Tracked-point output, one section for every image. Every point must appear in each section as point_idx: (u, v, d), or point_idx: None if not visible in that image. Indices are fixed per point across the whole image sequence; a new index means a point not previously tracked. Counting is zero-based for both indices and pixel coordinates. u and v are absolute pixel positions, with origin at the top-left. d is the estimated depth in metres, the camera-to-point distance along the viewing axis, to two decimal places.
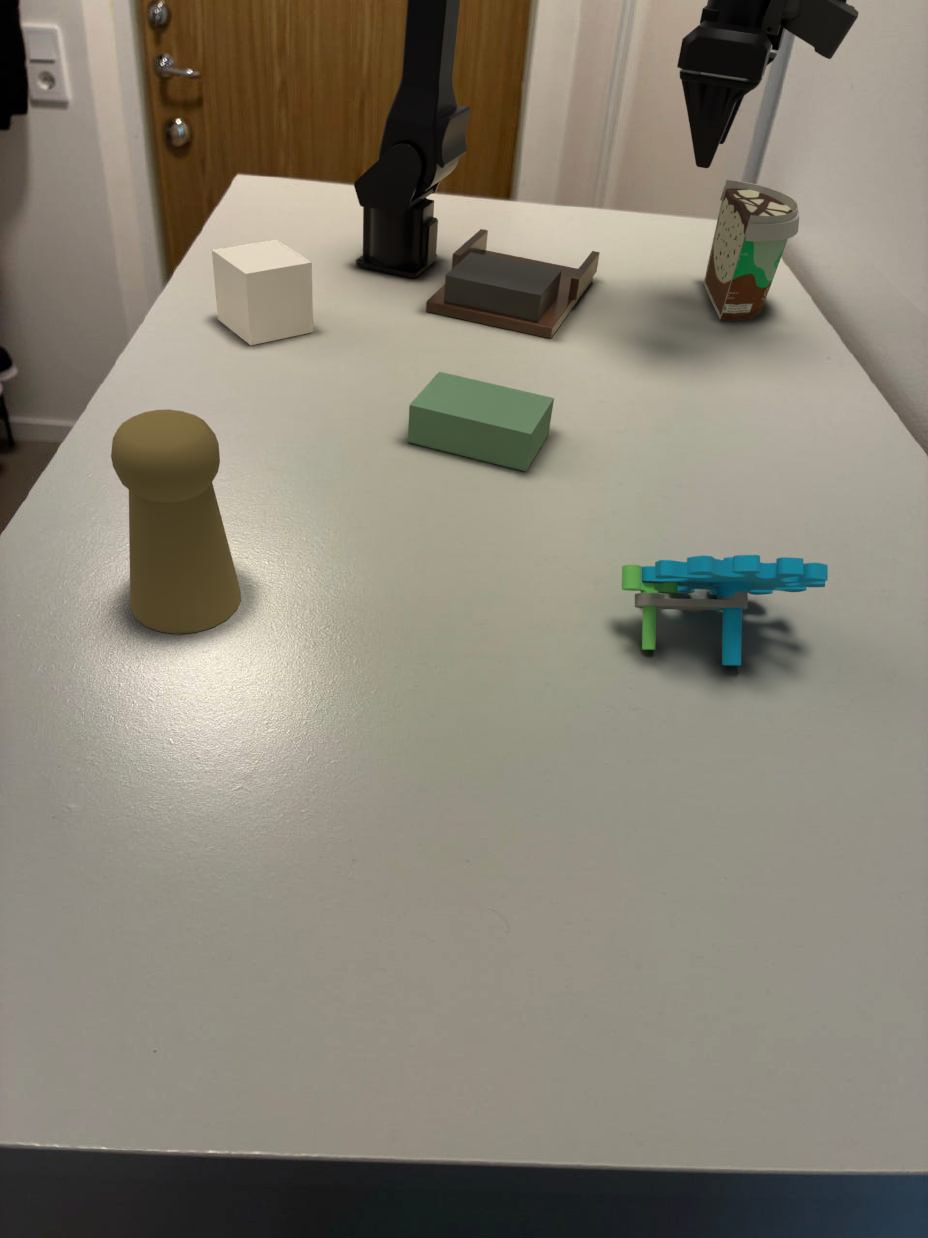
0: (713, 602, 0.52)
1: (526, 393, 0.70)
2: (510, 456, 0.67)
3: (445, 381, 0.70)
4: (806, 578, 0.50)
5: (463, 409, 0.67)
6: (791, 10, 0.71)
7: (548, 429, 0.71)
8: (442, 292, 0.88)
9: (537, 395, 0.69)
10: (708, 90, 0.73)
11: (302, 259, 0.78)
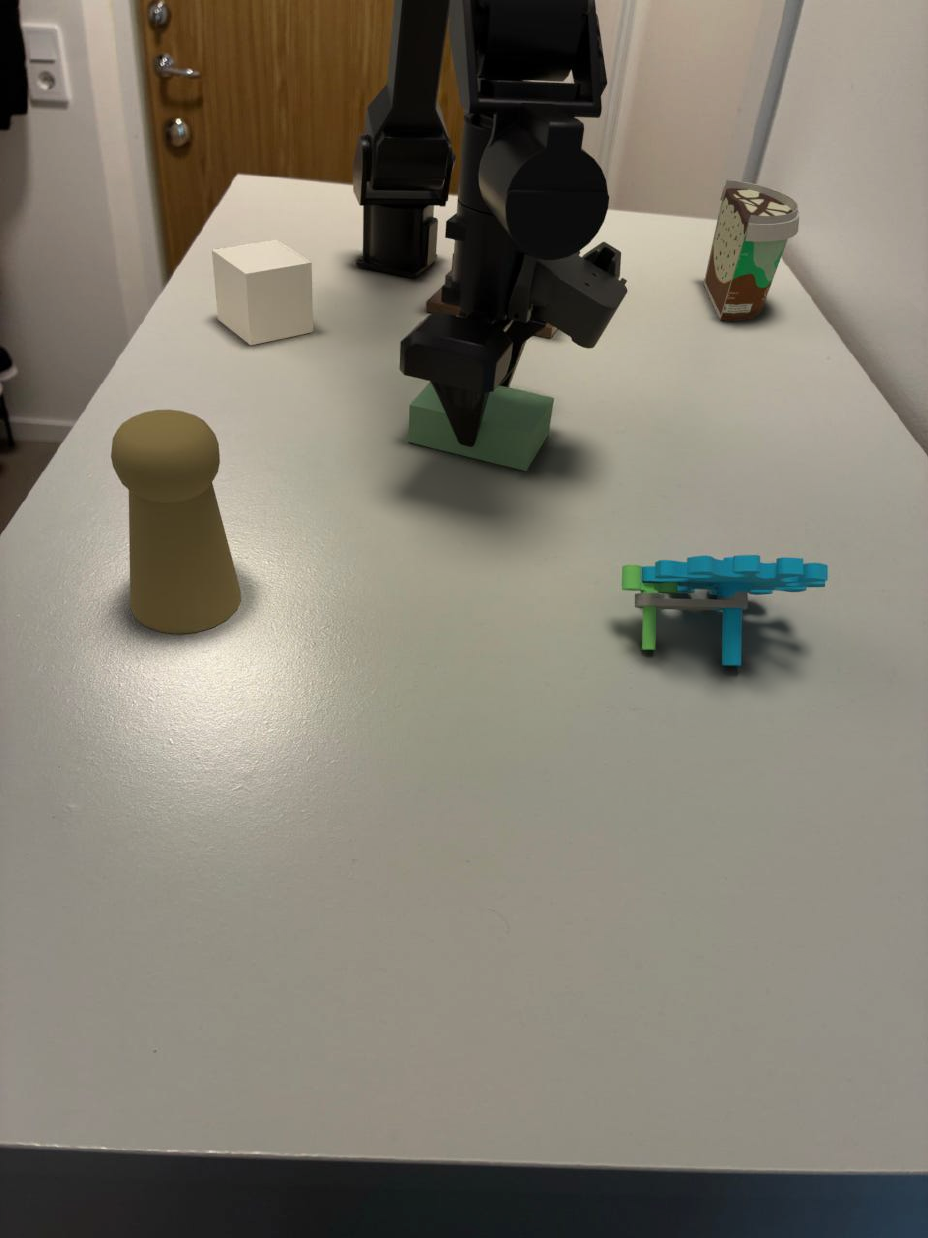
0: (713, 602, 0.52)
1: (526, 393, 0.70)
2: (510, 456, 0.67)
3: None
4: (806, 578, 0.50)
5: None
6: (539, 298, 0.59)
7: (548, 429, 0.71)
8: None
9: (537, 395, 0.69)
10: None
11: (302, 259, 0.78)
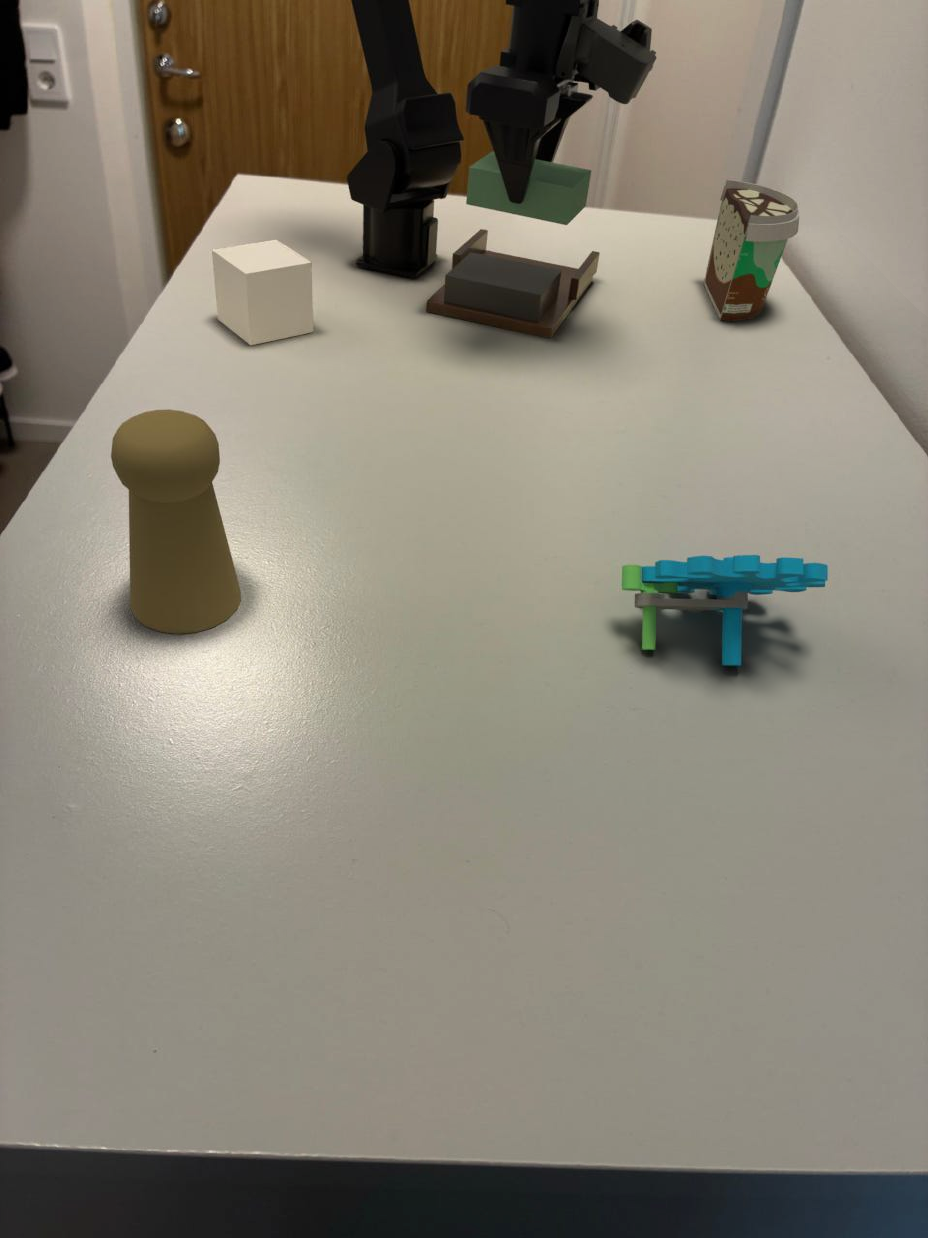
0: (713, 602, 0.52)
1: (567, 166, 0.81)
2: (554, 211, 0.78)
3: None
4: (806, 578, 0.50)
5: None
6: (582, 56, 0.71)
7: (585, 200, 0.82)
8: (442, 292, 0.88)
9: (577, 167, 0.81)
10: (511, 129, 0.75)
11: (302, 259, 0.78)
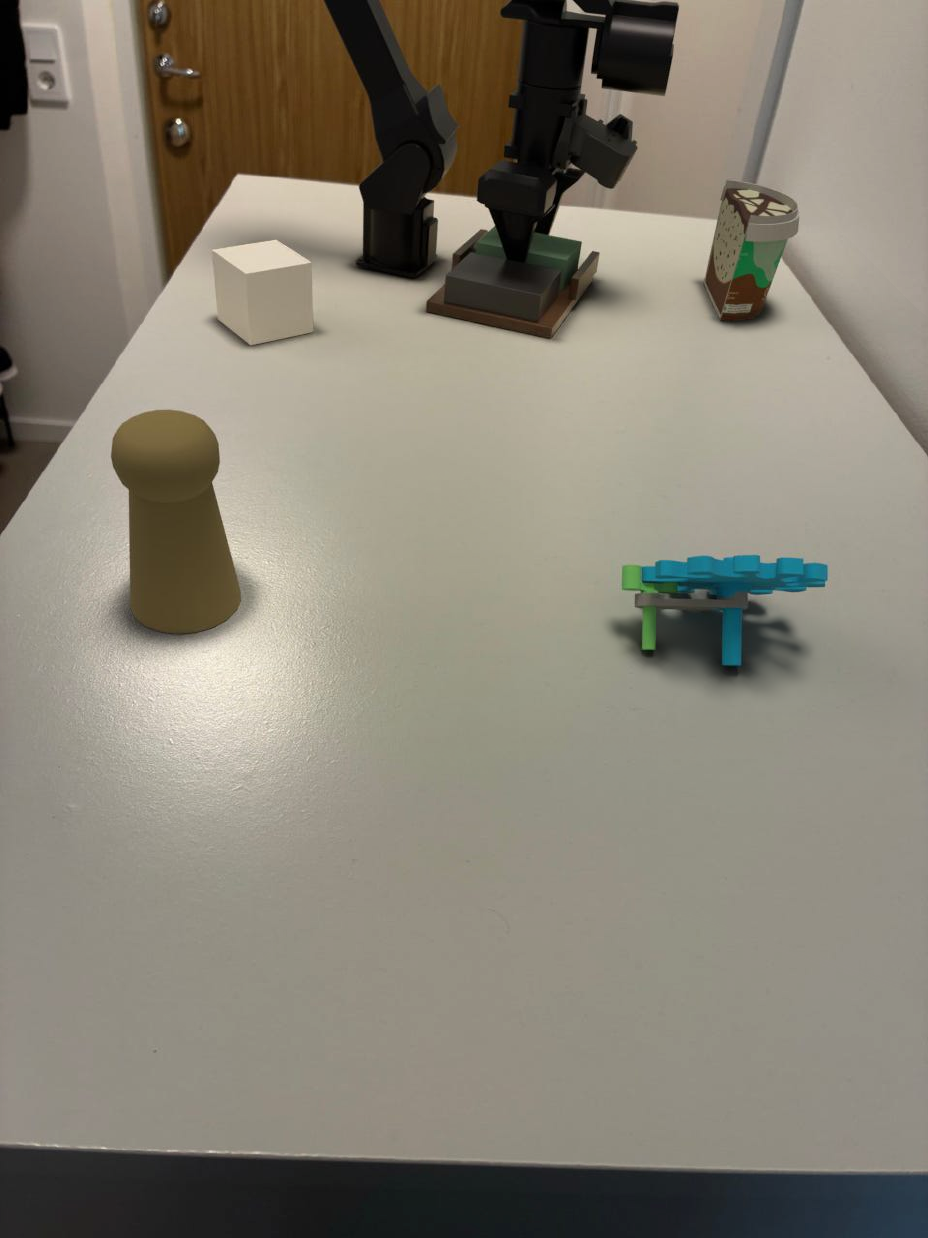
0: (713, 602, 0.52)
1: (561, 238, 0.94)
2: None
3: None
4: (806, 578, 0.50)
5: None
6: (575, 150, 0.84)
7: (577, 266, 0.95)
8: (442, 292, 0.88)
9: (569, 239, 0.94)
10: (512, 213, 0.86)
11: (302, 259, 0.78)
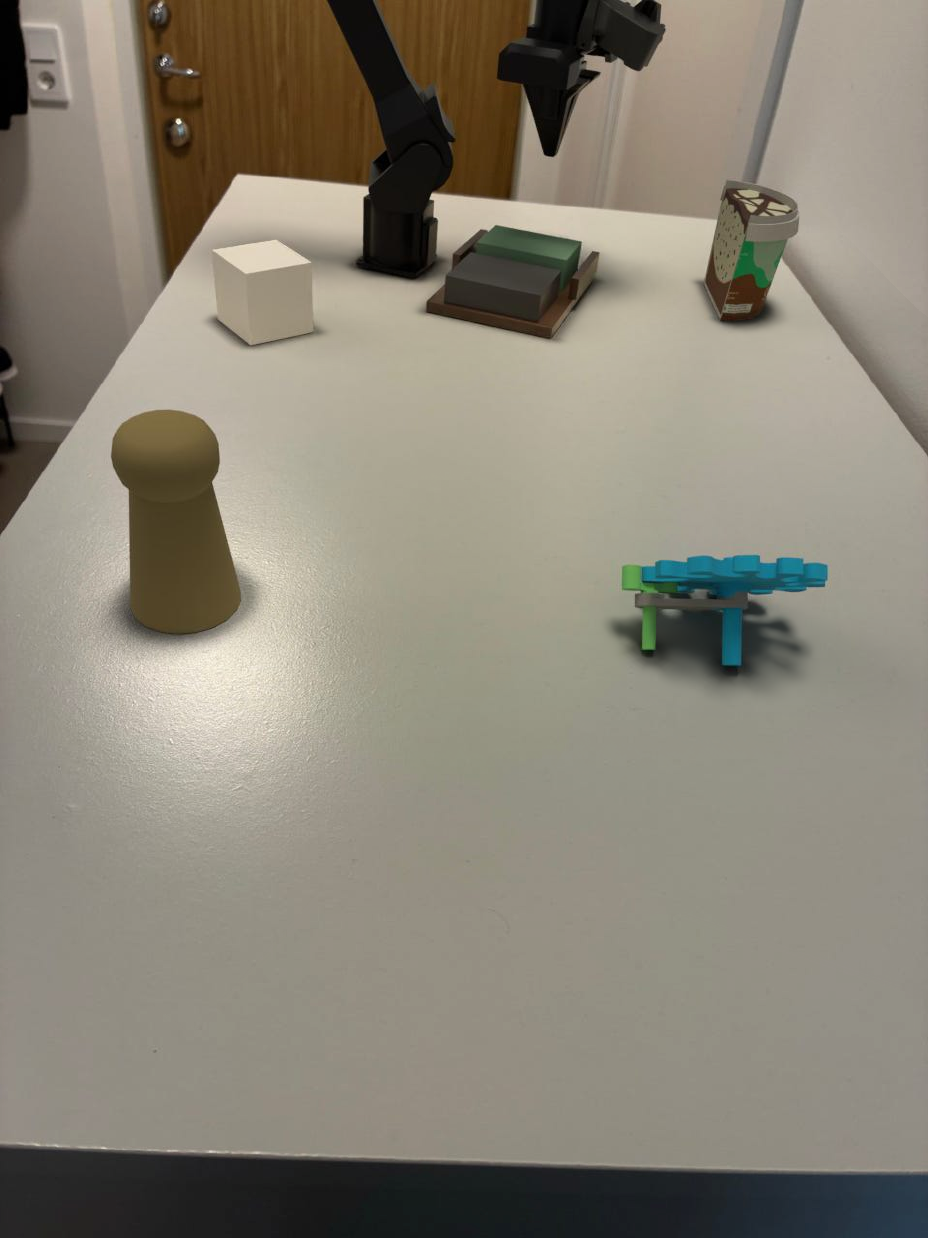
0: (713, 602, 0.52)
1: (561, 238, 0.94)
2: None
3: (501, 230, 0.94)
4: (806, 578, 0.50)
5: (516, 245, 0.91)
6: (600, 28, 0.80)
7: (577, 266, 0.95)
8: (442, 292, 0.88)
9: (569, 239, 0.94)
10: (546, 90, 0.86)
11: (302, 259, 0.78)
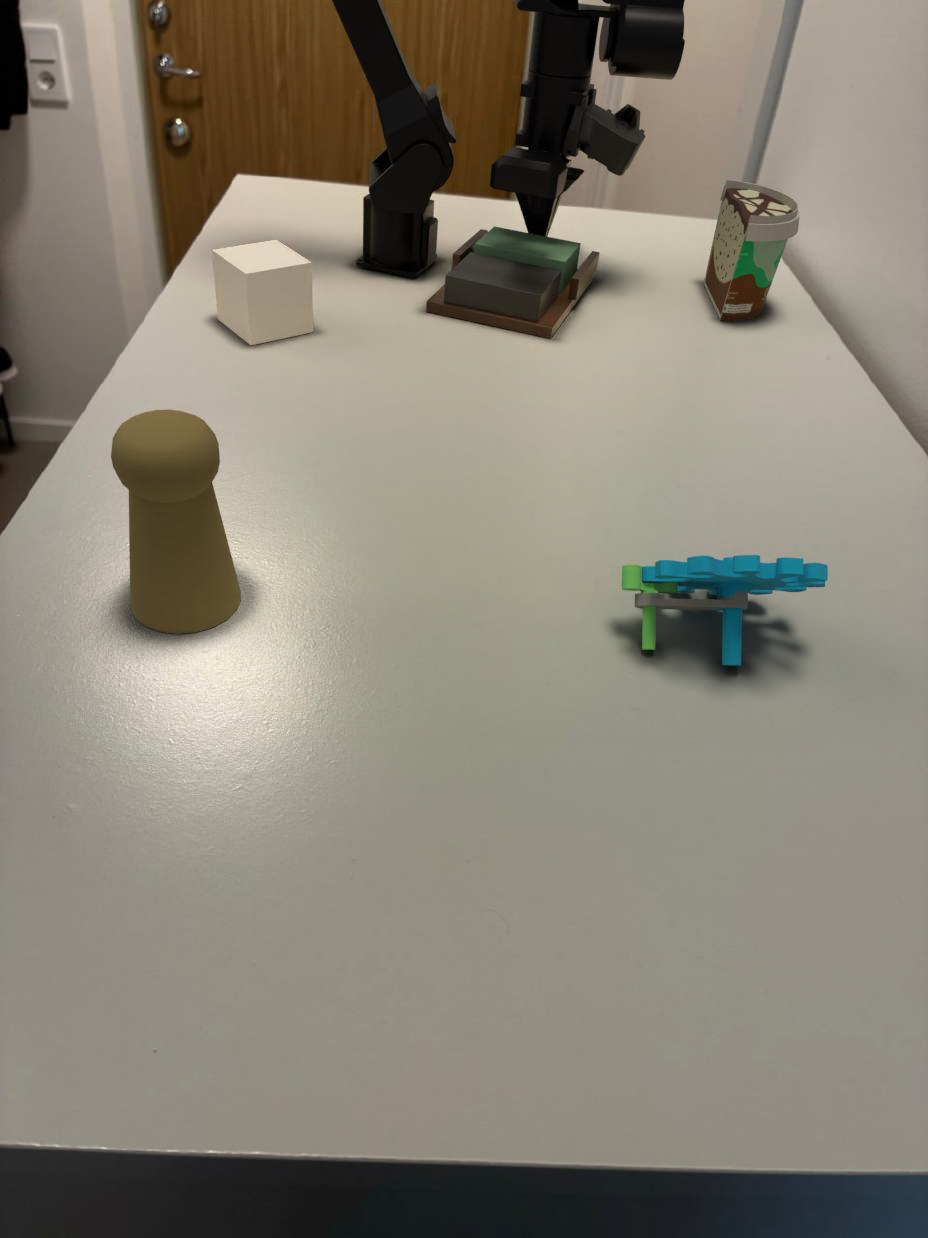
0: (713, 602, 0.52)
1: (560, 240, 0.93)
2: None
3: (499, 231, 0.94)
4: (806, 578, 0.50)
5: (514, 247, 0.91)
6: (585, 138, 0.86)
7: (576, 268, 0.95)
8: (442, 292, 0.88)
9: (568, 241, 0.93)
10: None
11: (302, 259, 0.78)
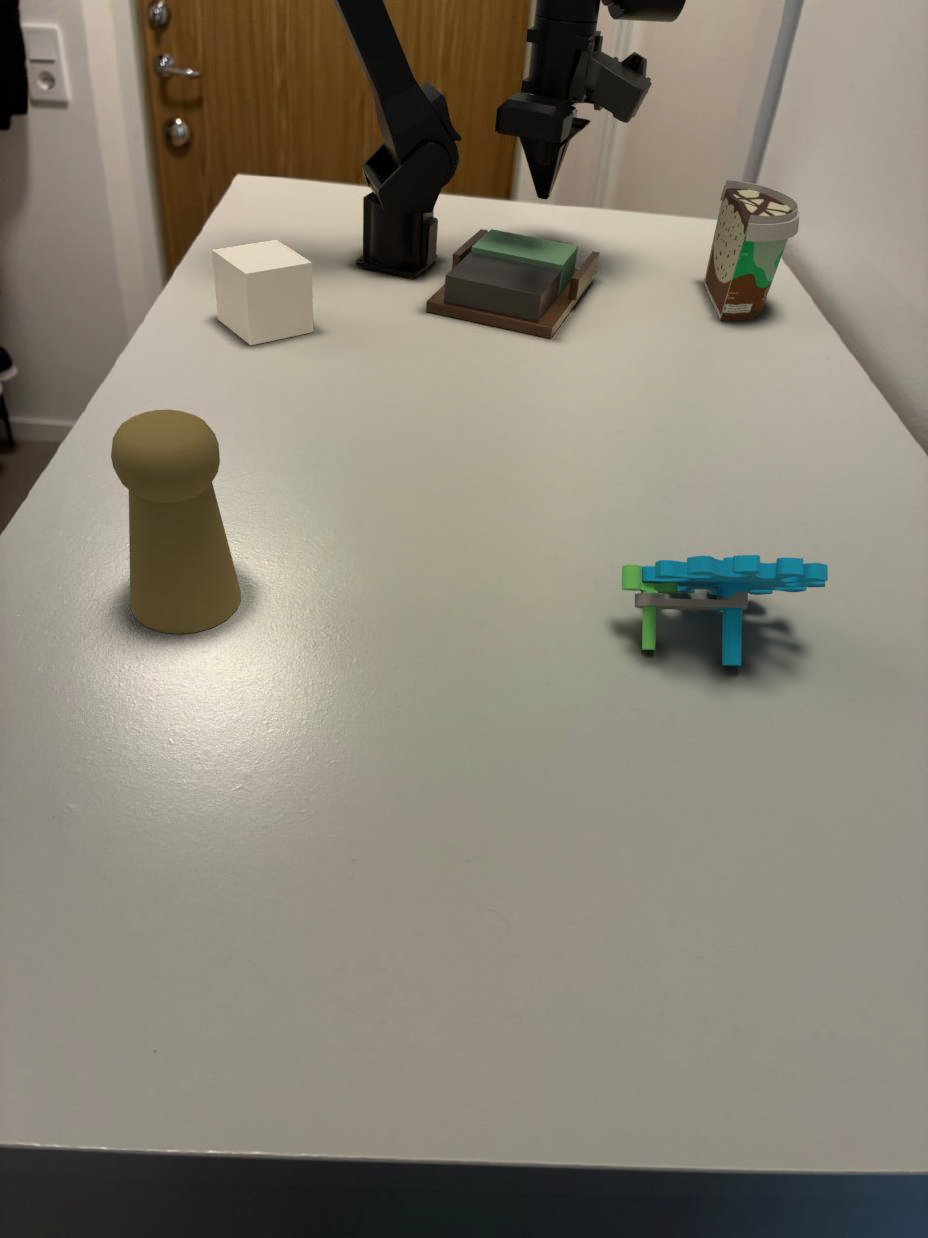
0: (713, 602, 0.52)
1: (557, 242, 0.93)
2: None
3: (496, 234, 0.93)
4: (806, 578, 0.50)
5: (511, 250, 0.90)
6: (590, 83, 0.86)
7: (573, 271, 0.94)
8: (442, 292, 0.88)
9: (565, 244, 0.93)
10: None
11: (302, 259, 0.78)
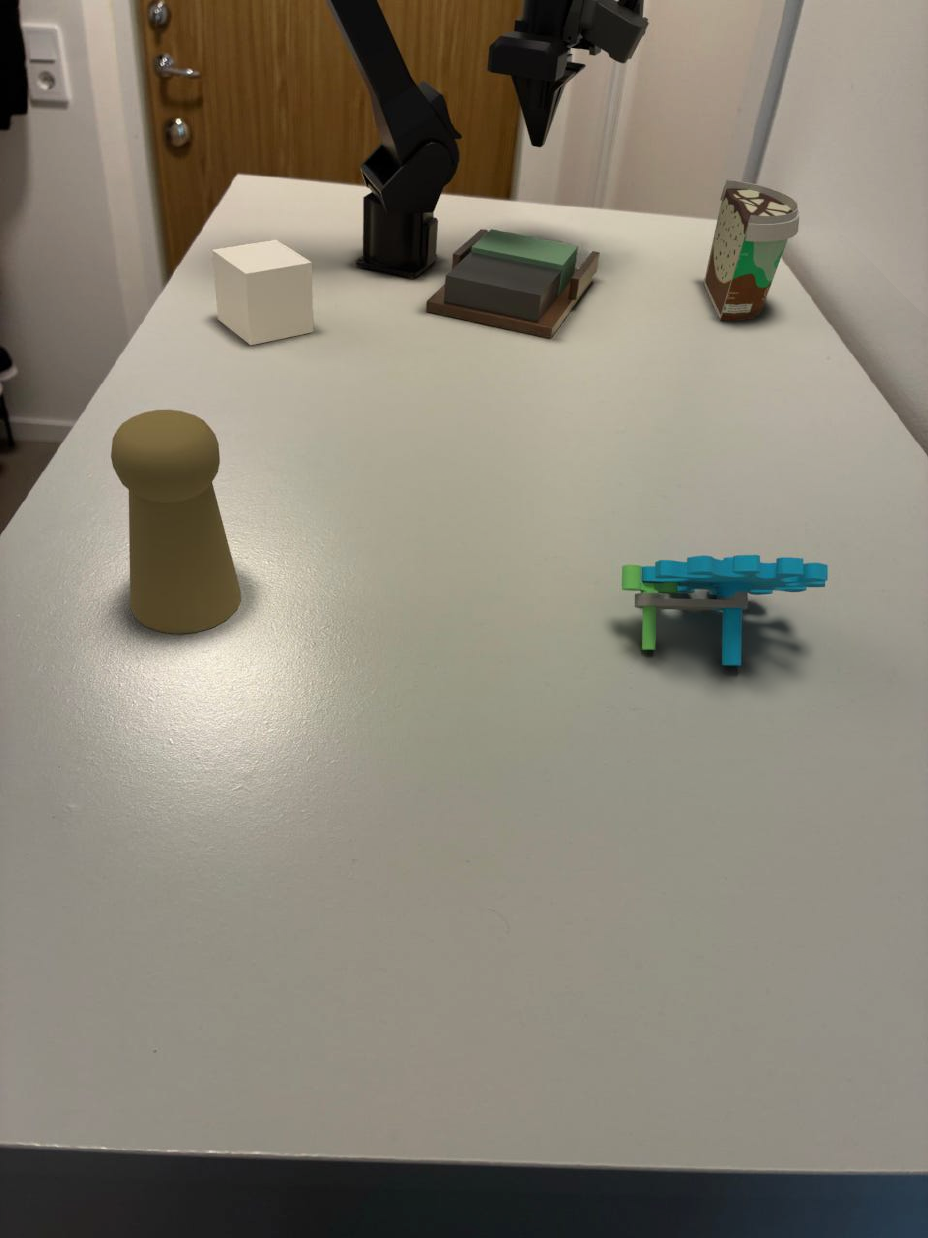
0: (713, 602, 0.52)
1: (557, 242, 0.93)
2: None
3: (496, 234, 0.93)
4: (806, 578, 0.50)
5: (511, 250, 0.90)
6: (586, 22, 0.83)
7: (573, 271, 0.94)
8: (442, 292, 0.88)
9: (565, 244, 0.93)
10: (534, 82, 0.89)
11: (302, 259, 0.78)
